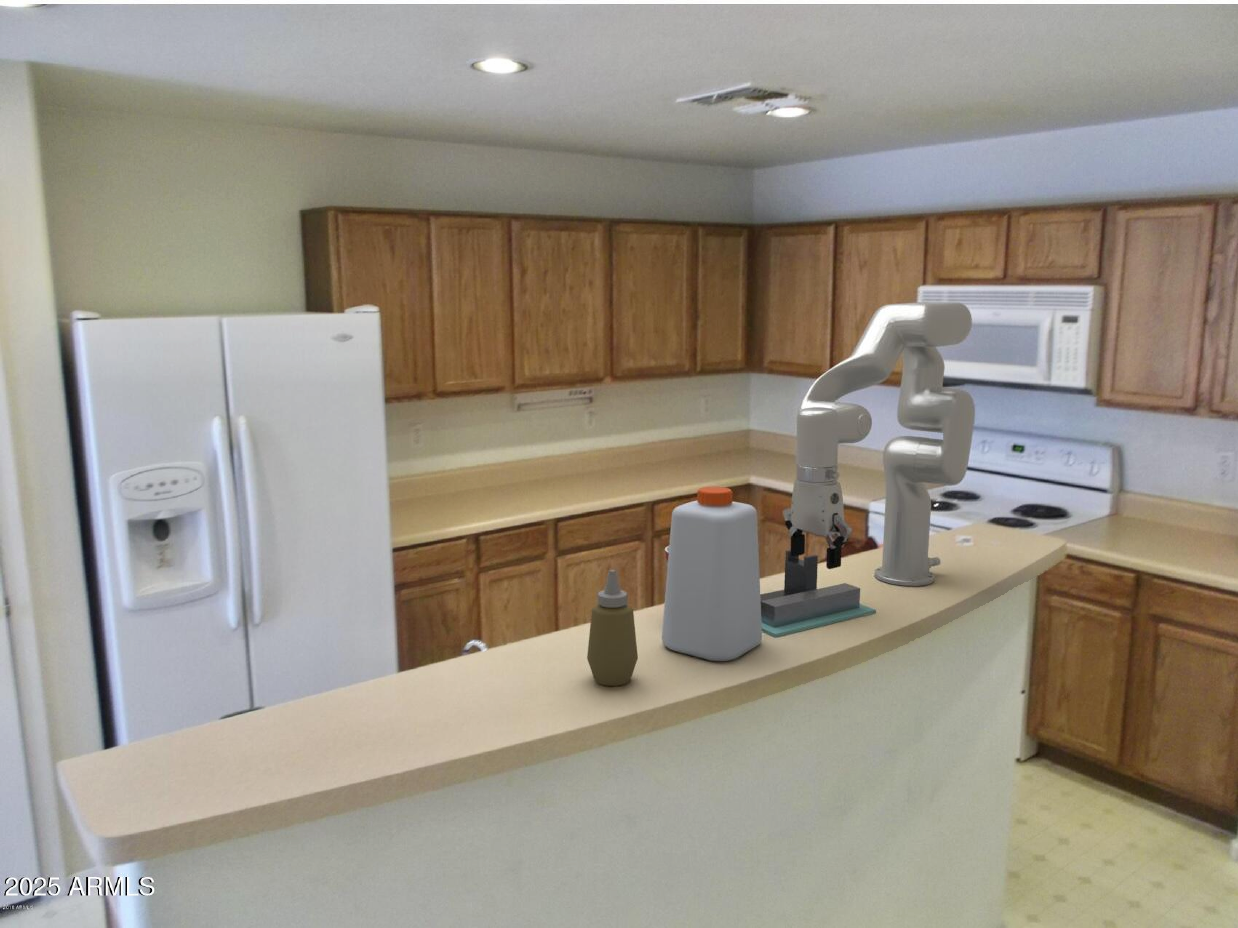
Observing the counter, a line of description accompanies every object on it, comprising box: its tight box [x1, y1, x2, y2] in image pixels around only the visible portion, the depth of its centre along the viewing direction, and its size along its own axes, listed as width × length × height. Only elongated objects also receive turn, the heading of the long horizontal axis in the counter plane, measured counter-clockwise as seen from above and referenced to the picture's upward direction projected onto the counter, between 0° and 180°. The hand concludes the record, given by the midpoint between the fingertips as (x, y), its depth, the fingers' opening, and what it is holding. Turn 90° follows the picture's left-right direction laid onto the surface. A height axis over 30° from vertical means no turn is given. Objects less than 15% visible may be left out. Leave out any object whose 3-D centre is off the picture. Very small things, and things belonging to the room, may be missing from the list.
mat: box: [762, 603, 877, 638], centre depth 173 cm, size 26×9×1 cm, turn 122°
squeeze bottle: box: [586, 569, 639, 687], centre depth 142 cm, size 8×8×18 cm
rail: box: [761, 582, 861, 628], centre depth 173 cm, size 22×4×4 cm, turn 122°
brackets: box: [760, 549, 819, 601], centre depth 182 cm, size 20×7×9 cm, turn 122°
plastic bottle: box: [661, 486, 763, 662], centre depth 157 cm, size 15×15×28 cm
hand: (815, 561), depth 172 cm, fingers open, 9 cm apart
